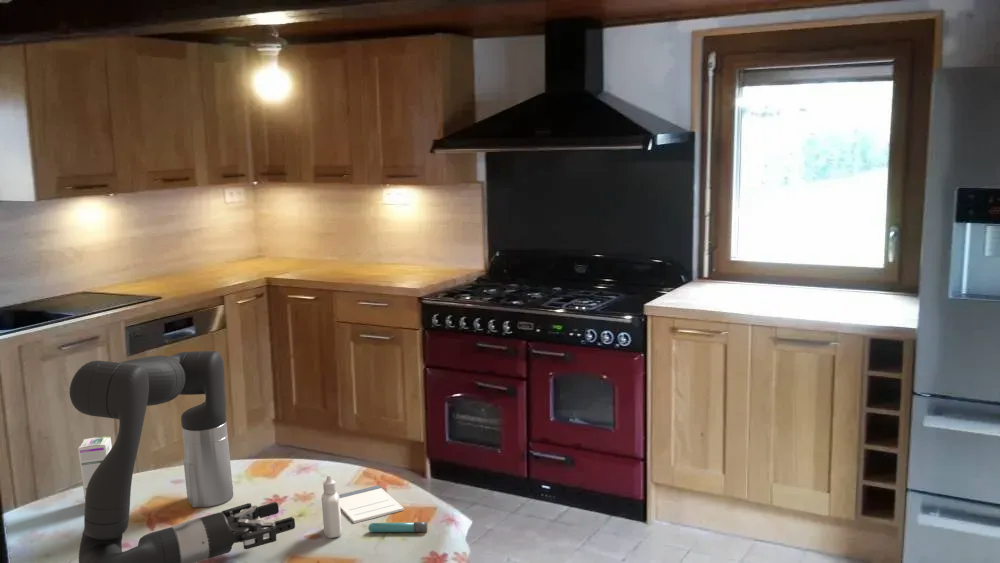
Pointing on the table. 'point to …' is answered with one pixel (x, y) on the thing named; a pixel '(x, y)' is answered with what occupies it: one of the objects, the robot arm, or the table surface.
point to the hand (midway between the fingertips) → (285, 514)
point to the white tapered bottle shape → (331, 509)
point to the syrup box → (92, 456)
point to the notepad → (368, 504)
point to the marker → (398, 527)
